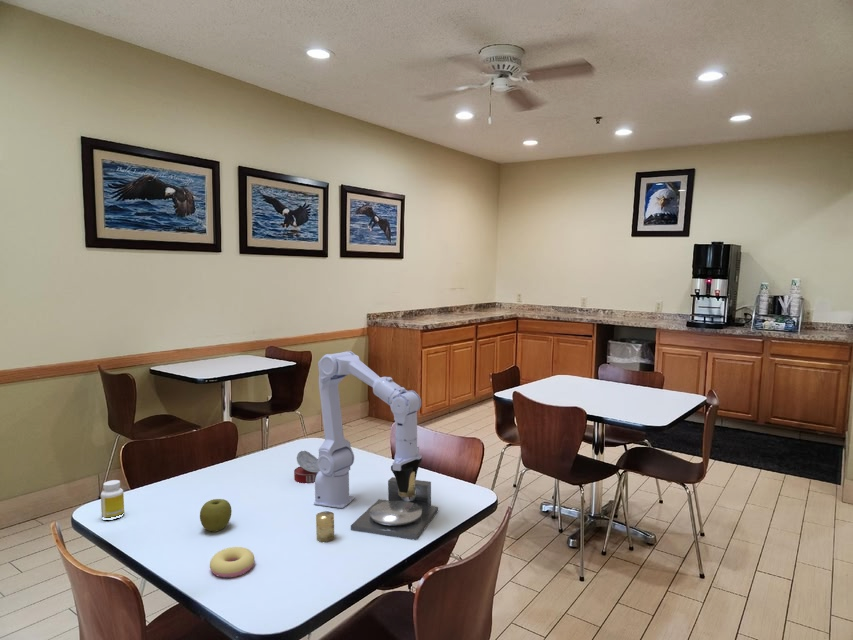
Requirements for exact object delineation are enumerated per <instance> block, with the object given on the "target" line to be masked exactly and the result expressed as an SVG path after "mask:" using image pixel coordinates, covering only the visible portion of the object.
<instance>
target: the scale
mask: <svg viewBox="0 0 853 640" xmlns="http://www.w3.org/2000/svg"><path fill="white" fill-rule="evenodd" d="M387 485H388V486H387V491H388V492H387V493H388V494H387V495H388V498H387V499H381V498H379V499H377V500H376V501H375V502H374V503H373V504H372V505H371V506H370V507H369V508H368V509H366V511H365V512H363V513H362V514H361V515H360V516H359V517H358V518H357V519H356V520H355V521H354V522H353V523H351V524H350V531H355V532H362V533H367V534H375V535H380V536H388V537H395V538H398V539H399V538H400V539H406V538H407V539H406V540H412V539H414V540H413V541H417V540H416V539H418V538H419V537H420V536H419V535H421V534H422V533H423V532H424V530H425V529H426V528H427V526H428V525H429V524H430V523H431V521H432V520H433V519H434V517H435V516H436V514H437V513H438V512H439V507H438V506H436V505H435V506H434V505H432V481H428V480H421V479H420V480H419V479H416V480H415V495H414V496H412V497H401V496H399V495H398V484H397V481H396V478H395V476H394V477H393V476H392V477H390V479H388V480H387ZM387 501H408V502H412V503H415V504H417V505H419V506H420V507H421V509H422V516H421V517H420V518H419V519H418V520H416V521H414V522H412V523H409V524H404V525H384V524H380V523H377V522H375V521H373V520H372V519H371V518H370V510H371V508H372V507H374V506H375V505H377V504H379V503H383V502H387ZM437 511H438V512H437ZM434 515H435V516H434ZM431 519H432V520H431ZM428 523H429V524H428ZM425 527H426V528H425ZM424 528H425V529H424ZM422 531H423V532H422Z"/></svg>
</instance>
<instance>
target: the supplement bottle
mask: <svg viewBox="0 0 853 640" xmlns="http://www.w3.org/2000/svg"><path fill="white" fill-rule="evenodd" d="M102 489H103V490H102V491H101V493H100V507H101V509H100V511H101V518H102V517H104V518H111V517H116V516H119V515H122V514H123V513H124V514H125V502H124V501H125V500H124V489H122V488H121V480H118V479H112V480H107V481H105V482H103V487H102Z"/></svg>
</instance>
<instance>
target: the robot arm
mask: <svg viewBox="0 0 853 640" xmlns="http://www.w3.org/2000/svg"><path fill="white" fill-rule="evenodd" d="M317 365H318V374H319V375H318V388H319V398H320V406H321V416H322V425H323V433H324V441H323V442H322V444H321V445H320V447H318V458H317V459H318V467H319V470H320V471H319V472H318V473H317V475H316V479H315V483H314V495H315V496H314V502H313V505H316V506H323V507H329V508H338V509H344V508H345V507H346V506H347V505H349V504H350V503H351V502H352V501H354V499H356V496H353V495H350V471H351V467H352V466H353V464H354V463H355V454H354V450H353V449H352V445H351V441H349V440H348V439H346V438H345V435H344V427H343V417H342V408H341V400H340V398H341V397H340V389H339V384H340V383H341V381H342V380H343V379H344V378H345V377H347V376H349V375H352V376H354V377H356V379H359V380H360V381H362V382H363V383H365V384H366V385H368V386H370V387H371V388H372V393H373V394H374V396H376V397H377V398H379V399H380V400H381V401H383V402H384V403H385V404H387V405H388V406H390V411H391V413H392V415H393V420H394V423H395V427H394V428H395V430H394V431H395V454H394V461H393V462H392V465H391V466H390V471H392V473H393V475H394V477H395V478H396V481H397V484H398V488H399V492H403V493H407V492H408V488H409V479H410V475H411V472H412V470H414V471H415V480H417V476H418V475H417V474H418V470H419V468H420V465H421V463H422V460H423V459H422V454H420V446H418V411H419V410H421V407H422V400H421V396H420V395H419V394H418V393H417V392H416V391H415V390H407V389H406V388H405V387H404V386H402V387H401V385H399V384H398V383H396V382H395V381H394V380H393V379H394V378H392V377H391V376H382V377H380V376H379V374H377V373H376V372H374V371H373V370H372V369H371V368H370V367H369V366H367V365H366V364H365V363H364V362H363V361H362V360H361V359H360V356H359V355H357V354H355V352H353V351H351V350H346V351H343V352H337V353H326V354H324V355H322V357H321V358H320V360H318V362H317Z"/></svg>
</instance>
